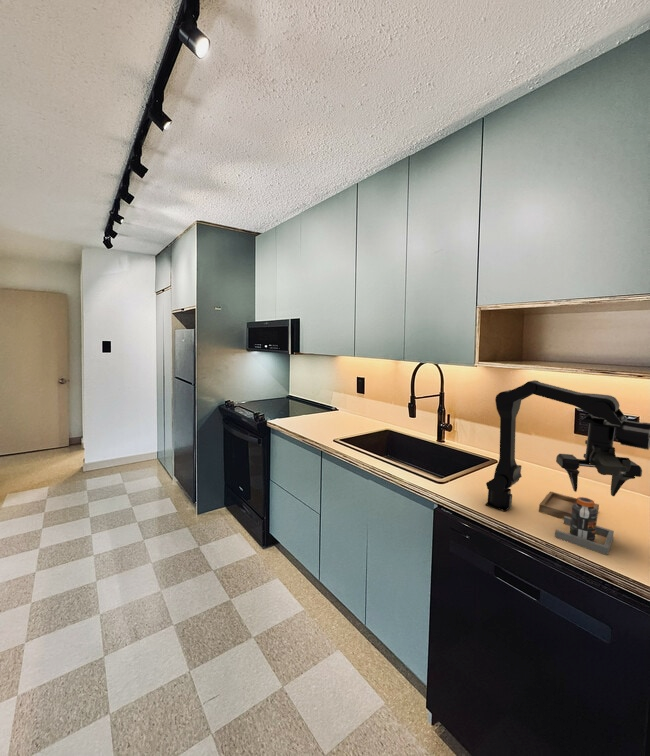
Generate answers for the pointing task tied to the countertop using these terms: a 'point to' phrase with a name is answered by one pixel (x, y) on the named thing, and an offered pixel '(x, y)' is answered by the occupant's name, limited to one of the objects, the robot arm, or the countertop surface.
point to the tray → (559, 505)
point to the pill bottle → (584, 519)
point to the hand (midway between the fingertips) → (593, 493)
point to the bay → (584, 542)
